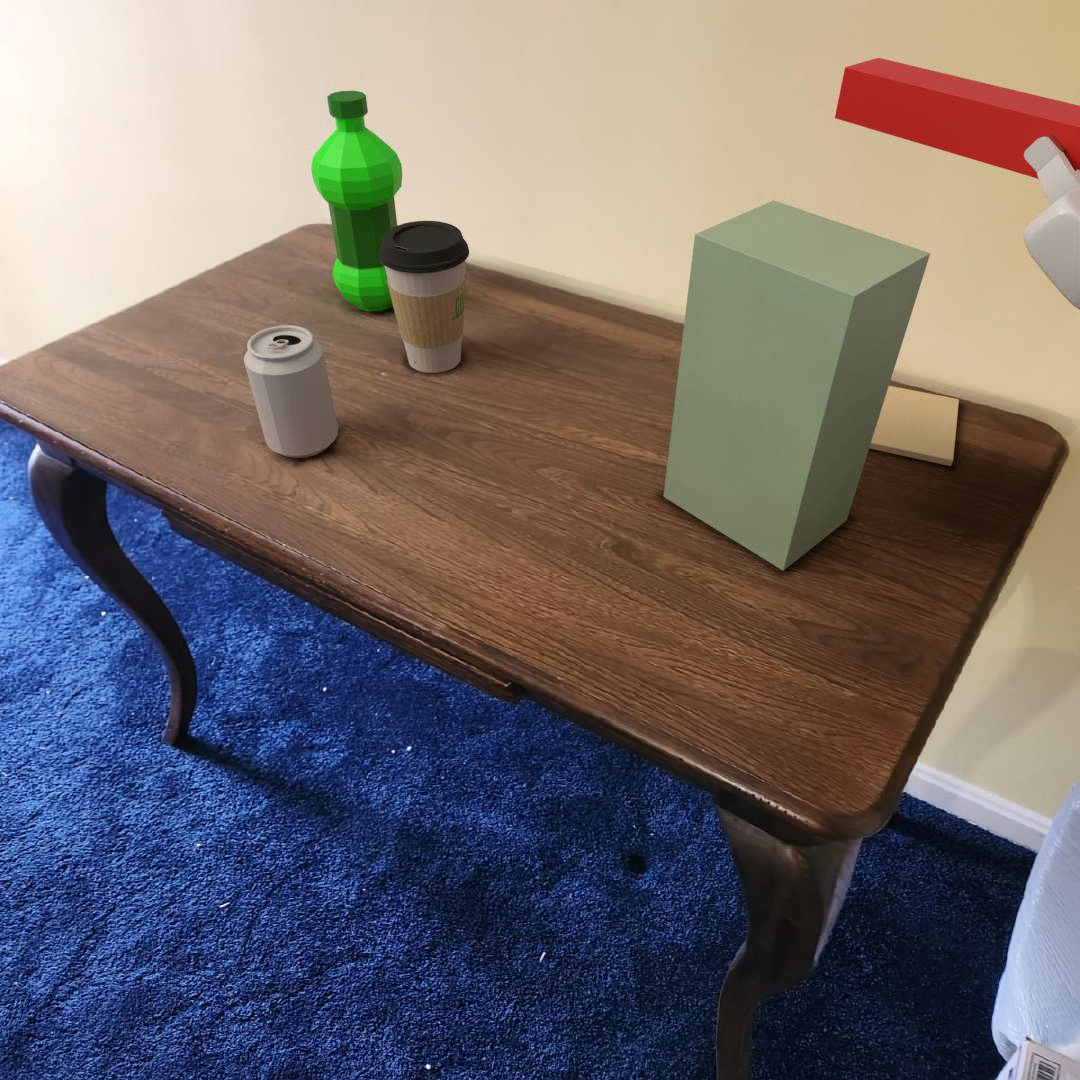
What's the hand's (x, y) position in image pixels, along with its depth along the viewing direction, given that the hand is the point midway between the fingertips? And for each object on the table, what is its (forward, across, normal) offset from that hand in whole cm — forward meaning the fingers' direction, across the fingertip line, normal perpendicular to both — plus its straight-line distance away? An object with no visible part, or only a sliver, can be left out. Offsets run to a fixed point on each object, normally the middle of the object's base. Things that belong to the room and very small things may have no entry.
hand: (1052, 133), depth 63 cm
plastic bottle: (+43, +18, +62) cm, 78 cm away
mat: (-7, -6, +33) cm, 35 cm away
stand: (-9, +16, +32) cm, 37 cm away
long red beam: (+4, -1, +5) cm, 7 cm away
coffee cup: (+28, +21, +54) cm, 64 cm away
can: (+25, +41, +52) cm, 71 cm away
